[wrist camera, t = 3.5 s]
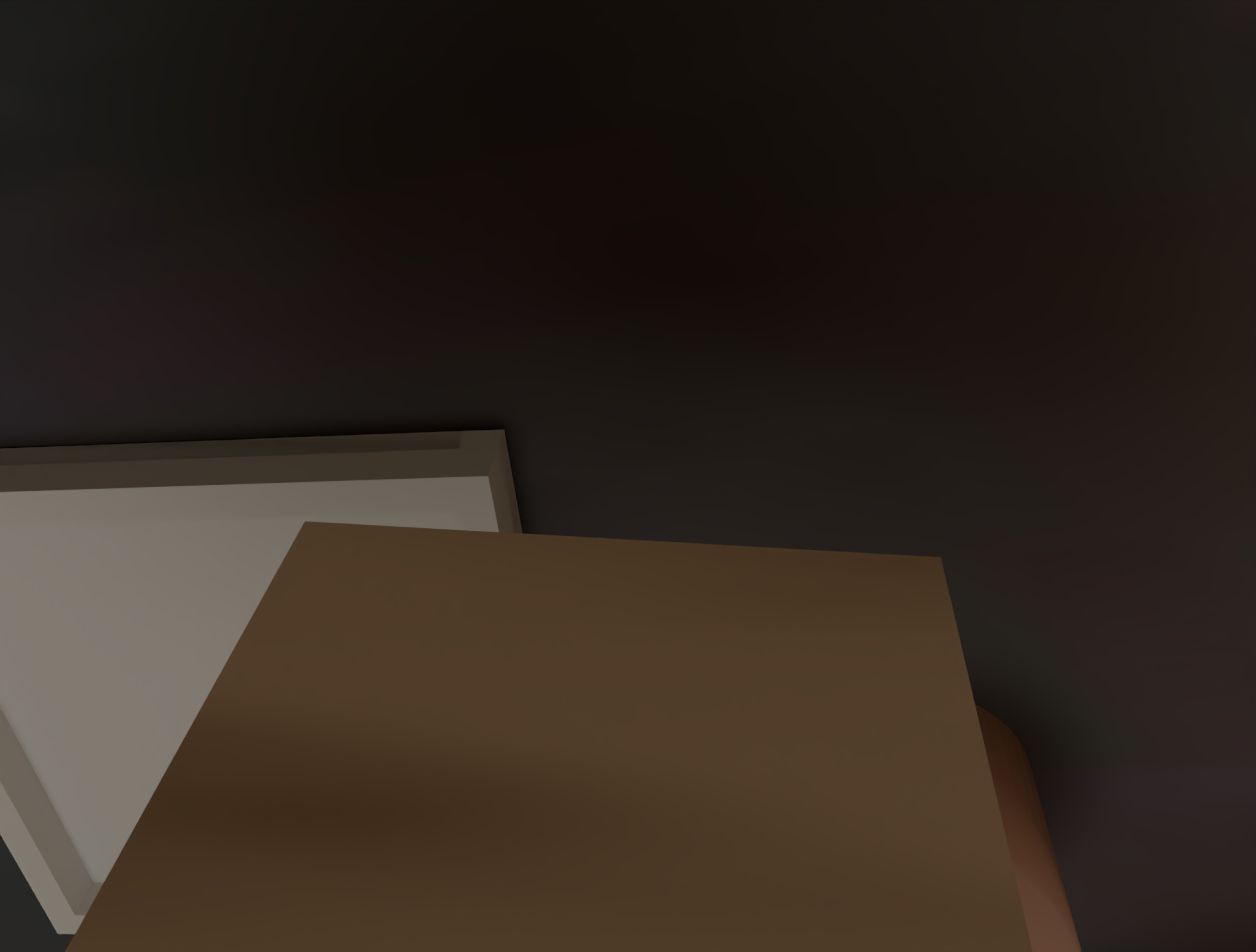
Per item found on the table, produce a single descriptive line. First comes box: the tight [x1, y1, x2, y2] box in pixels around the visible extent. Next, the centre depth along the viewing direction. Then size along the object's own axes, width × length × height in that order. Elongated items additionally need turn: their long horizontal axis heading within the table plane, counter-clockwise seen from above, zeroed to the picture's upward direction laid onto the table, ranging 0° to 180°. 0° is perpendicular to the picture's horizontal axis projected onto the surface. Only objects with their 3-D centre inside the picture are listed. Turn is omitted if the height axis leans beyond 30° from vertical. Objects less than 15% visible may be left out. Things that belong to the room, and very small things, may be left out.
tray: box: [0, 430, 523, 934], centre depth 24 cm, size 12×12×2 cm
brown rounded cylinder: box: [975, 704, 1081, 952], centre depth 22 cm, size 6×6×6 cm
